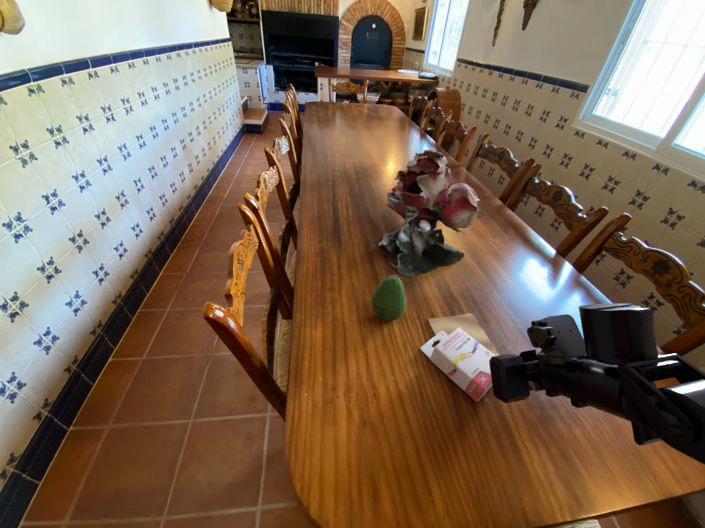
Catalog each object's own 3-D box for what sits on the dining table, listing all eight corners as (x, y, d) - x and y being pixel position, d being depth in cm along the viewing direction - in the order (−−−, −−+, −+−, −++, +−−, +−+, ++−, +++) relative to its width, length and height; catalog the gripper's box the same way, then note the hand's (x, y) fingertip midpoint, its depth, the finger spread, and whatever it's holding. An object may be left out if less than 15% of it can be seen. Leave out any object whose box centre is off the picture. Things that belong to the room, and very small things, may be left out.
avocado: (395, 301, 76) (403, 265, 69) (406, 325, 70) (417, 289, 63) (365, 305, 74) (370, 269, 67) (374, 330, 69) (381, 294, 61)
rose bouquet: (477, 254, 94) (516, 161, 75) (404, 282, 82) (429, 179, 63) (424, 216, 111) (445, 132, 92) (357, 234, 98) (365, 142, 79)
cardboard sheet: (509, 372, 62) (510, 371, 62) (457, 381, 60) (458, 379, 60) (471, 314, 74) (471, 313, 74) (427, 320, 72) (427, 318, 72)
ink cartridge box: (485, 390, 53) (422, 336, 61) (476, 403, 56) (417, 350, 65) (509, 364, 58) (447, 317, 66) (499, 377, 61) (441, 331, 69)
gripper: (644, 313, 40) (548, 308, 55) (525, 330, 37) (457, 319, 52) (659, 397, 39) (557, 368, 54) (539, 423, 36) (466, 384, 51)
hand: (511, 358), depth 53 cm, fingers closed
